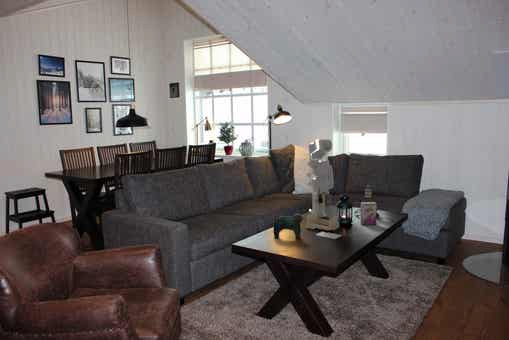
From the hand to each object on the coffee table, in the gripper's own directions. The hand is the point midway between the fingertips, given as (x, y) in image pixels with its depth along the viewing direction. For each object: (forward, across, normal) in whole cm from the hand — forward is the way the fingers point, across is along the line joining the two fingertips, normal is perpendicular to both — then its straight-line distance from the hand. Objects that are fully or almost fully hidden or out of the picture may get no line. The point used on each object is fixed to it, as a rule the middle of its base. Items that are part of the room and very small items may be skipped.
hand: (322, 201), depth 308 cm
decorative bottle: (+20, -48, +13) cm, 53 cm away
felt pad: (+19, +14, +13) cm, 27 cm away
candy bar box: (+20, -26, +23) cm, 40 cm away
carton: (+19, 0, 0) cm, 19 cm away
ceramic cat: (+19, +36, -6) cm, 41 cm away
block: (+2, 0, 0) cm, 2 cm away
